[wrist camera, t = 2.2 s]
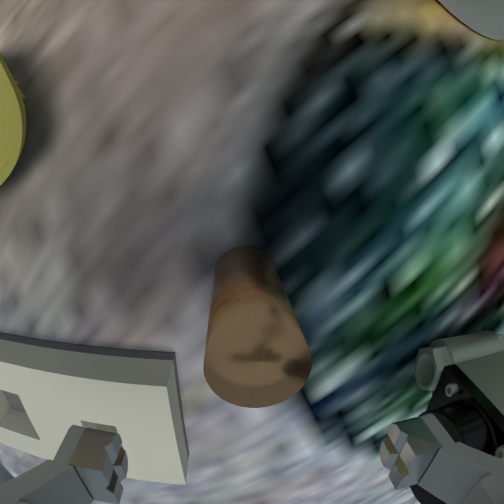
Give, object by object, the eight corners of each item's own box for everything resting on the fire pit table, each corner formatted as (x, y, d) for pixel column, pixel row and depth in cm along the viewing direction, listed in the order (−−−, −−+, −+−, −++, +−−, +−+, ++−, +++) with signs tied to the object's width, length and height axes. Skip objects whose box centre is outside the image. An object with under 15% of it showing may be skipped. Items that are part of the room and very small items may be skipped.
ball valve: (356, 404, 25) (433, 572, 8) (376, 322, 23) (517, 506, 6) (492, 372, 26) (581, 466, 9) (517, 304, 24) (632, 388, 7)
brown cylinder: (214, 246, 20) (201, 322, 11) (277, 246, 20) (317, 321, 11) (214, 304, 21) (206, 407, 12) (274, 304, 22) (305, 405, 12)
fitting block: (5, 416, 24) (-10, 438, 20) (-34, 325, 21) (-56, 344, 17) (188, 452, 25) (185, 484, 22) (175, 352, 22) (166, 386, 18)
